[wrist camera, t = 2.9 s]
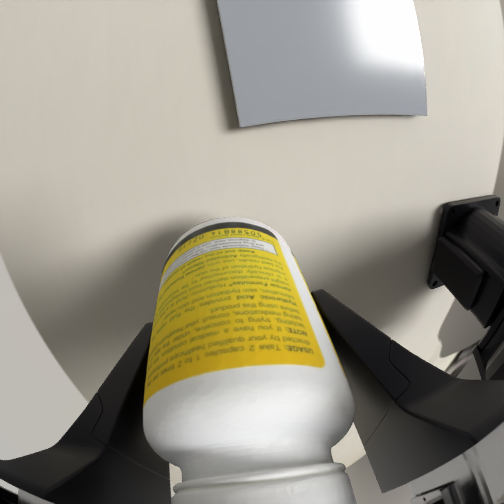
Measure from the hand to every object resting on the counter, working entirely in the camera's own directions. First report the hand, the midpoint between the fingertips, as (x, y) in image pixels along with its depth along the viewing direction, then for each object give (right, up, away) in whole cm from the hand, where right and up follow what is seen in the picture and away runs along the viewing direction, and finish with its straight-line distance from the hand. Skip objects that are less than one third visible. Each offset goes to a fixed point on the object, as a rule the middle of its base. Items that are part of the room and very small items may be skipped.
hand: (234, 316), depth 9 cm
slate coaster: (+4, +12, -1) cm, 13 cm away
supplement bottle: (0, +1, +2) cm, 3 cm away
